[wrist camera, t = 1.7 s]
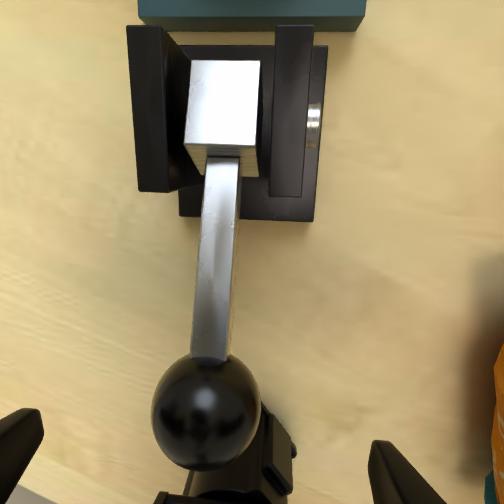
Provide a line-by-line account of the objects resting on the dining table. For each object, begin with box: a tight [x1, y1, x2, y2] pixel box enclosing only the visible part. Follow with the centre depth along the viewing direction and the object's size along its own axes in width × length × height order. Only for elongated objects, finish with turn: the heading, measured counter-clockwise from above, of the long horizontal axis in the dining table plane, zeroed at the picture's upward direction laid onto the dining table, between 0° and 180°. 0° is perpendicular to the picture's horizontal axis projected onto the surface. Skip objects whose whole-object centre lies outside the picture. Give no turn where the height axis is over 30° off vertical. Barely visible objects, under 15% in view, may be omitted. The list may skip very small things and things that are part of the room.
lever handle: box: [151, 60, 263, 472], centre depth 10 cm, size 12×3×3 cm, turn 178°
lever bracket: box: [126, 25, 328, 222], centre depth 13 cm, size 9×8×10 cm
